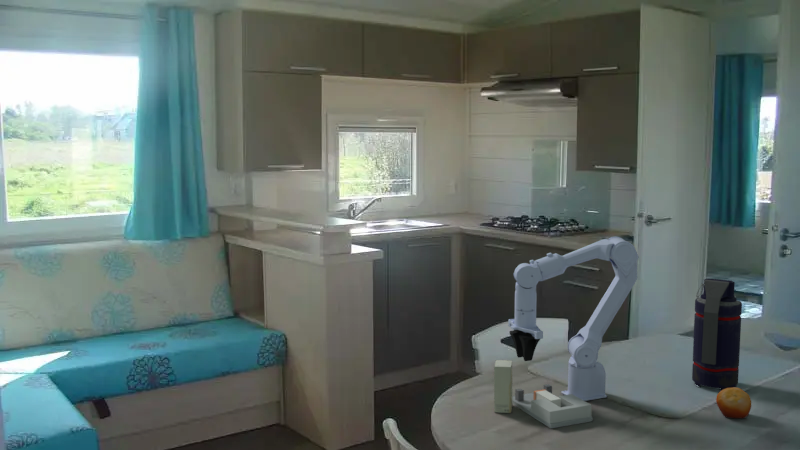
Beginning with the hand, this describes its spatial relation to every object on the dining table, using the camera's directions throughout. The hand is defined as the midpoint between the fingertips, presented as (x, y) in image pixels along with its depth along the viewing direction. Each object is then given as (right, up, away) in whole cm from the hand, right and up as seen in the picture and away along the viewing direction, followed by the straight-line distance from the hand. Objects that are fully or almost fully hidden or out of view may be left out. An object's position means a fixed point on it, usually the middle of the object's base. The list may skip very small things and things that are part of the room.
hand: (524, 358), depth 210 cm
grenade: (+54, -9, +8) cm, 55 cm away
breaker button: (+4, -10, -9) cm, 14 cm away
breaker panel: (+4, -12, -9) cm, 15 cm away
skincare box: (-7, -12, -8) cm, 16 cm away
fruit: (+50, -12, -14) cm, 53 cm away
